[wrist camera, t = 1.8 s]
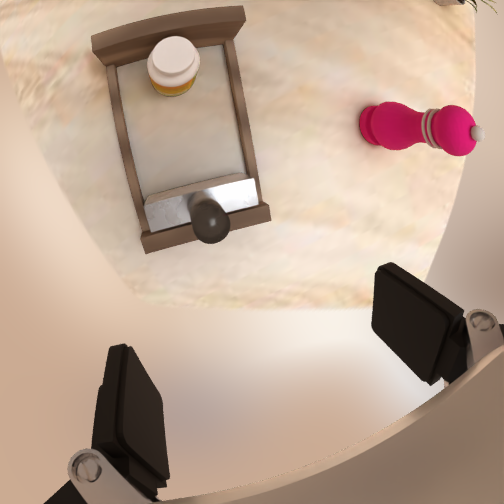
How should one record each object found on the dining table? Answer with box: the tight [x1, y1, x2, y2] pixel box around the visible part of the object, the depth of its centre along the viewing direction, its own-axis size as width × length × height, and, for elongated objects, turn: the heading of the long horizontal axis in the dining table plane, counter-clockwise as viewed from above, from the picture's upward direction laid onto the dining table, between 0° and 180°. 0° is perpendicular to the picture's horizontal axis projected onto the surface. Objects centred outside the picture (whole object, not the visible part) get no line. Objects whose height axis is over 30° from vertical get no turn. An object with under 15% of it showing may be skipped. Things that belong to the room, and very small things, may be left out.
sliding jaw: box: [144, 172, 259, 244], centre depth 28 cm, size 3×12×14 cm, turn 100°
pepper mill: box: [359, 102, 485, 156], centre depth 29 cm, size 7×7×20 cm
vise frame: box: [91, 6, 271, 254], centre depth 28 cm, size 27×16×8 cm, turn 10°
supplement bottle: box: [147, 36, 200, 96], centre depth 24 cm, size 5×5×10 cm
